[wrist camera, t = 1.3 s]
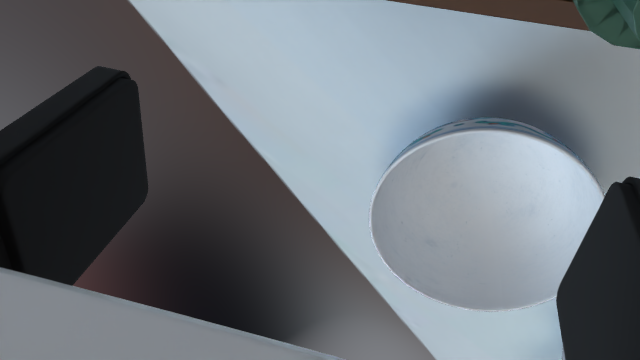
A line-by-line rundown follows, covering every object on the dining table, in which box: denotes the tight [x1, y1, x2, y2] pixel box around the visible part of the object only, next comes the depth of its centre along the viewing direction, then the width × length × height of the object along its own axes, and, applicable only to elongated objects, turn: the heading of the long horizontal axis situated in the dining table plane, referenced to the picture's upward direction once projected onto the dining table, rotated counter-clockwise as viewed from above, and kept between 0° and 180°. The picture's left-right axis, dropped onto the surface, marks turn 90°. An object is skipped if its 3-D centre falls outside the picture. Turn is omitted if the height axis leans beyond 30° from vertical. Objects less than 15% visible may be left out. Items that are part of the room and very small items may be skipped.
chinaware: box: [369, 117, 605, 312], centre depth 39 cm, size 15×15×8 cm
